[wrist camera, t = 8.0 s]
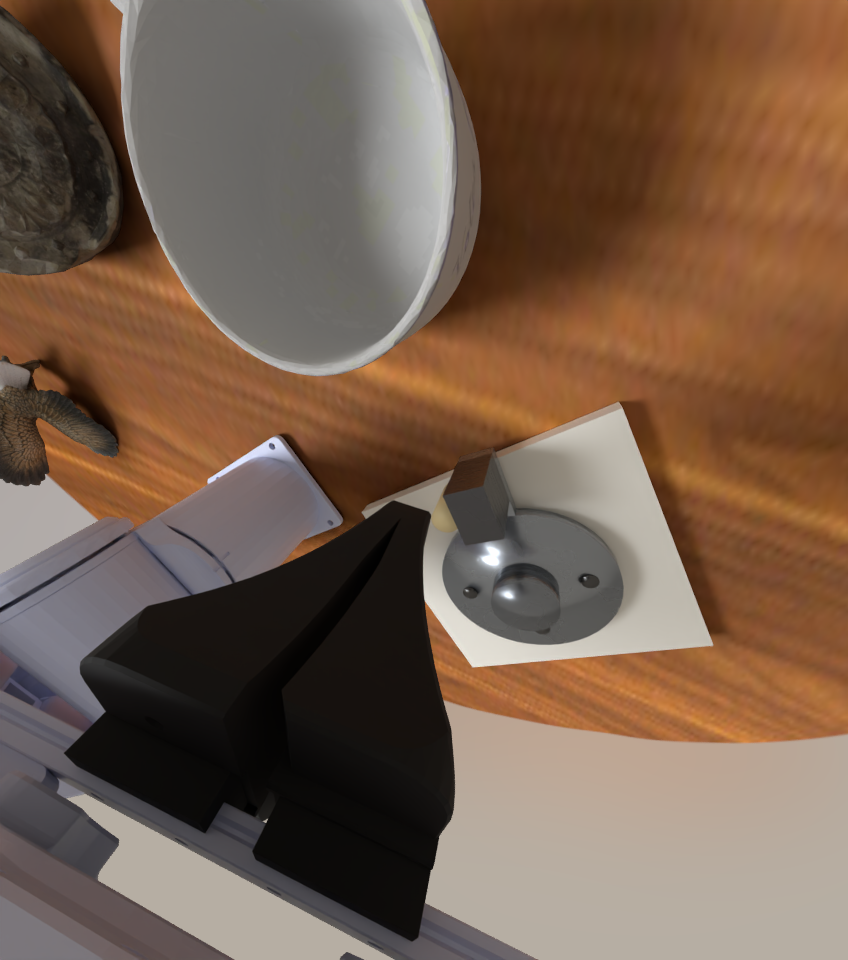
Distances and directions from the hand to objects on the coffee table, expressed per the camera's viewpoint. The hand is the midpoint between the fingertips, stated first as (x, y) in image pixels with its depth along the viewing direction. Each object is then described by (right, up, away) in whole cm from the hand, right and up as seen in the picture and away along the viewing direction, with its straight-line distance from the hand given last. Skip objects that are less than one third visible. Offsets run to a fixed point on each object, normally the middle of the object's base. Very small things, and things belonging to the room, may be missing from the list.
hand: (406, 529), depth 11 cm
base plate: (+8, -4, +12) cm, 15 cm away
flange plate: (+6, -3, +11) cm, 13 cm away
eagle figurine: (-29, +8, +18) cm, 35 cm away
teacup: (-2, +15, +5) cm, 16 cm away
